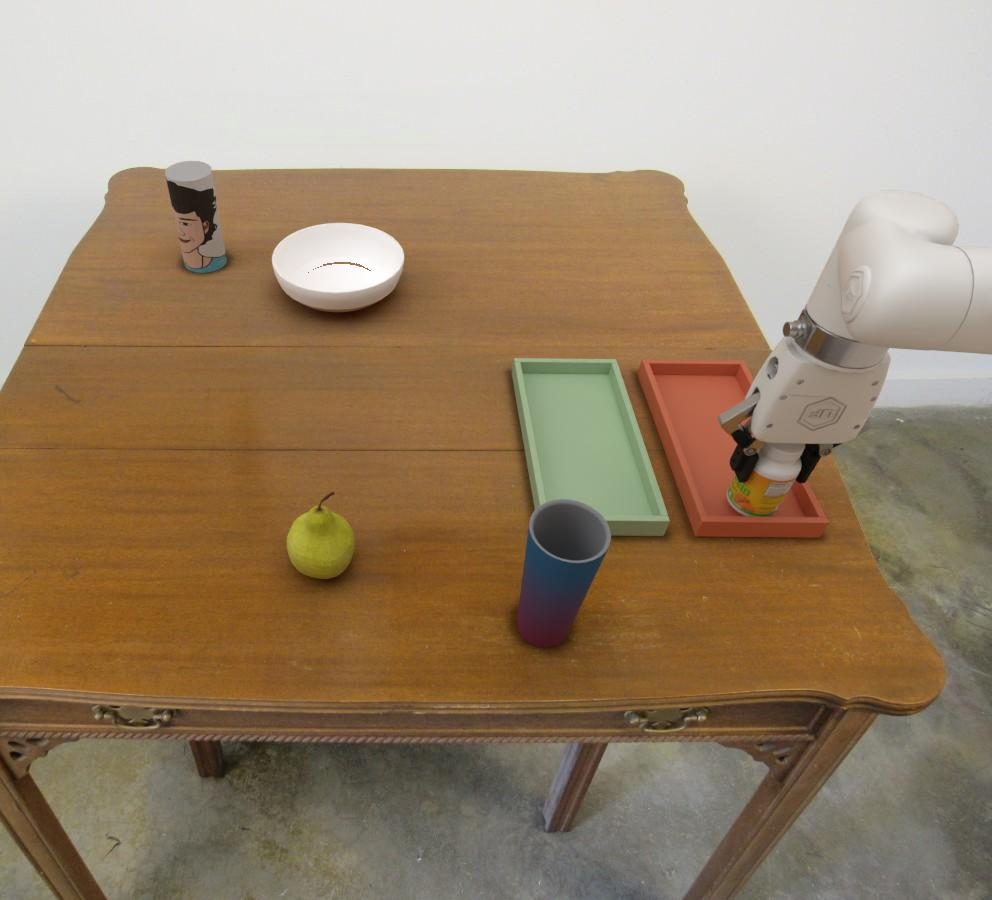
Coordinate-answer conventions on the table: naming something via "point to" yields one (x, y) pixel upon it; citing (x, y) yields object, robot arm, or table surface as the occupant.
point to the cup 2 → (559, 568)
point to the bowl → (338, 266)
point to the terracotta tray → (715, 449)
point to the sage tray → (587, 442)
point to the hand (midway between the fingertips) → (767, 472)
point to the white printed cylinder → (196, 215)
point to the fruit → (320, 543)
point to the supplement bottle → (767, 480)
